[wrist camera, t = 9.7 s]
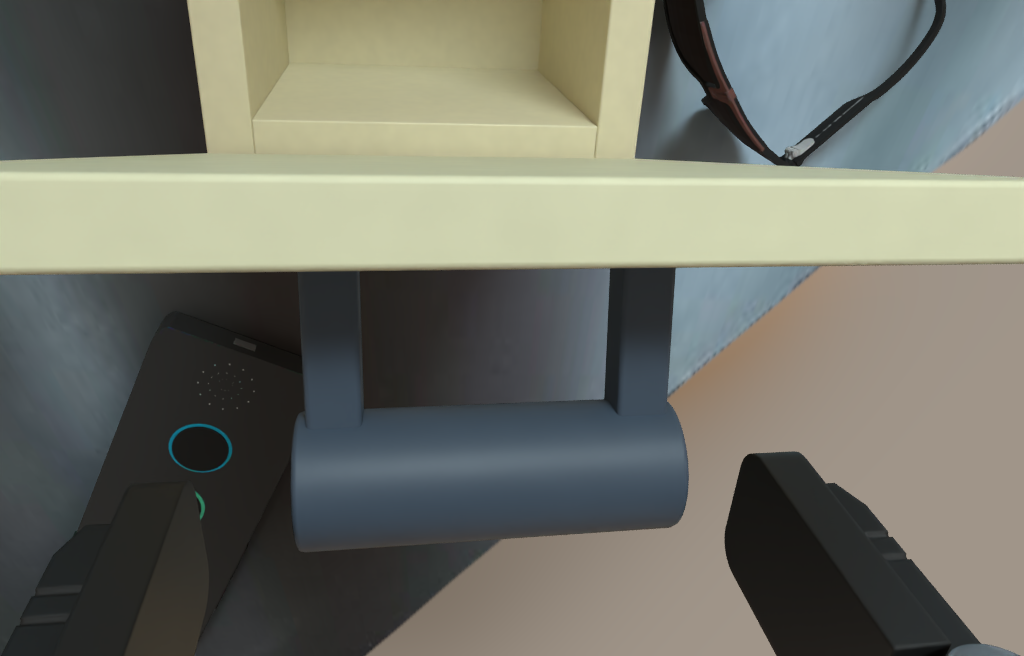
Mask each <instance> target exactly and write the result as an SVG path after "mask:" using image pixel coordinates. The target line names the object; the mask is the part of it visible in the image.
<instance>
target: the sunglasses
mask: <svg viewBox="0 0 1024 656" xmlns="http://www.w3.org/2000/svg"><path fill="white" fill-rule="evenodd" d="M934 1H935V5H936V14H935V18H934V21H933V24H932V26H931V28H930V30H929V31H928V33H927V34H926V36H925V38H924V39H923V40H922V42H921V43H920V44H919V46H918V47H917V48H916V50H915V51H914V52H913V53H912V55H911V56H910V57H909V58H908V59H907V60H906V61H905V63H904V64H903V65H902V66H901V67H900V68H899V69H898V70H897V71H896V72H895V73H894V74H893V75H891V76H890V77H889V78H888V79H887V80H886V81H885V82H883V83H882V84H881V85H880V86H879V87H877V88H876V89H875V90H873V91H871V92H870V93H868V94H866V95H863V96H861V97H858V98H856V99H853V100H851V101H849V102H847V103H845V104H844V105H842V106H841V107H840V108H839V109H838V110H836V111H835V112H834V113H833V114H832V115H831V116H829V117H828V118H827V119H826V120H825V121H823V122H822V123H821V124H820V125H819V126H817V127H816V128H815V129H814V130H813V131H812V132H810V133H809V134H808V135H807V136H806V137H804V138H803V139H802V140H801V141H800V142H799V143H797V144H796V145H795V146H791V147H787V148H786V149H785V154H784V155H783V156H782V157H778V156H777V155H776V154H775V153H774V152H773V151H771V150H770V149H769V148H768V147H767V145H766V144H765V143H764V141H763V140H762V139H761V138H760V136H759V135H758V134H757V132H756V131H755V130H754V128H753V127H752V125H751V124H750V122H749V121H748V119H747V117H746V115H745V114H744V112H743V110H742V108H741V106H740V104H739V102H738V99H737V97H736V95H735V92H734V90H733V88H732V87H731V85H730V83H729V81H728V79H727V76H726V74H725V72H724V70H723V67H722V65H721V62H720V60H719V57H718V55H717V51H716V48H715V45H714V41H713V38H712V34H711V30H710V27H709V23H708V20H707V18H706V14H705V8H704V1H703V0H663V3H664V10H665V15H666V20H667V25H668V29H669V32H670V35H671V39H672V42H673V44H674V47H675V49H676V51H677V53H678V55H679V57H680V59H681V61H682V62H683V64H684V65H685V67H686V68H687V69H688V71H689V72H690V73H691V74H692V75H693V76H694V77H695V78H696V79H697V80H698V81H699V82H700V84H701V85H702V87H703V89H704V91H705V93H706V96H705V97H704V98H703V99H702V100H701V101H702V103H703V104H704V105H706V106H707V107H708V108H709V110H710V111H711V112H712V113H713V114H714V115H715V116H716V117H717V118H718V119H719V120H720V121H721V123H722V124H723V125H724V126H725V127H727V128H728V129H729V130H730V131H731V132H732V133H733V134H734V135H735V136H736V137H737V138H738V139H739V140H740V141H742V142H743V143H744V144H745V145H747V146H748V147H750V148H751V149H753V150H754V151H756V152H757V153H759V154H760V155H762V156H763V157H765V158H766V159H768V160H770V161H771V162H773V163H774V164H775V165H777V166H797V167H799V166H800V165H802V163H803V161H804V159H805V158H806V157H807V156H809V155H810V154H811V153H812V152H813V151H815V150H816V149H817V148H818V147H819V146H820V145H822V144H823V143H824V142H825V141H826V140H828V139H829V138H830V137H831V136H832V135H833V134H835V133H836V132H837V131H838V130H839V129H841V128H842V127H843V126H844V125H845V124H846V123H848V122H849V121H850V120H851V119H852V118H854V117H855V116H856V115H857V114H858V113H859V112H861V111H862V110H863V109H864V108H865V107H867V106H868V105H869V104H870V103H871V102H872V101H874V100H876V99H878V98H879V97H881V96H882V95H883V94H885V93H886V92H887V91H888V90H889V89H890V88H892V87H893V86H894V85H895V84H896V83H897V82H899V81H900V80H901V79H902V78H903V77H904V76H905V75H906V74H907V73H908V72H909V71H910V69H911V68H912V67H913V66H914V65H915V64H916V63H917V62H918V60H919V59H920V58H921V57H922V55H923V54H924V53H925V52H926V50H927V49H928V47H929V46H930V45H931V43H932V42H933V40H934V39H935V37H936V36H937V34H938V32H939V30H940V28H941V27H942V24H943V22H944V18H945V15H946V1H945V0H934Z"/></svg>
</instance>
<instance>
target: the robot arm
mask: <svg viewBox="0 0 1024 656" xmlns="http://www.w3.org/2000/svg"><path fill="white" fill-rule="evenodd" d="M725 551H726V556H727V560H728V564H729V567H730V569H731V571H732V573H733V575H734V577H735V579H736V581H737V583H738V585H739V587H740V588H741V590H742V592H743V594H744V596H745V598H746V599H747V601H748V603H749V605H750V607H751V609H752V611H753V612H754V615H755V616H756V618H757V620H758V622H759V624H760V626H761V627H762V629H763V631H764V633H765V635H766V637H767V639H768V641H769V642H770V644H771V646H772V648H773V650H774V652H775V654H776V655H777V656H1020V655H1017V654H1015V653H1013V652H1011V651H1008V650H1005V649H1003V648H1000V647H996V646H992V645H987V644H981V643H980V642H979V641H978V640H977V638H976V637H975V636H974V635H973V634H972V633H971V631H970V630H969V629H968V628H967V626H966V625H965V624H964V623H963V622H962V620H961V619H960V618H959V617H958V615H956V613H955V612H954V611H953V609H952V608H951V607H950V606H949V605H948V603H947V602H946V601H945V600H944V599H943V597H942V596H941V595H940V594H939V593H938V591H937V590H936V589H935V588H934V587H933V585H932V584H931V583H930V582H929V581H928V579H927V578H926V577H925V576H924V575H923V573H922V572H921V571H920V570H919V568H918V567H917V566H916V565H915V564H914V562H913V561H912V560H911V559H910V560H909V559H907V558H906V553H905V552H904V551H903V549H902V548H901V547H900V545H899V544H898V543H897V542H896V541H895V539H894V538H893V537H889V536H888V531H887V530H886V529H885V527H884V526H883V525H882V524H881V523H880V521H879V520H878V519H877V518H876V517H875V515H874V514H873V513H872V512H871V511H870V509H869V508H868V507H867V506H866V505H865V504H864V503H862V502H861V501H859V500H858V499H857V498H855V497H854V496H852V495H851V494H849V493H848V492H846V491H845V490H844V489H842V488H841V487H839V486H838V485H837V484H835V483H828V484H826V483H825V482H824V481H823V479H822V478H821V477H820V476H819V474H818V473H817V472H816V471H815V469H814V468H813V467H812V465H811V464H810V463H809V462H808V460H807V459H806V458H805V457H804V456H803V455H802V454H801V453H799V452H776V453H755V454H748V455H747V456H746V457H745V458H744V459H743V462H742V464H741V468H740V472H739V476H738V480H737V484H736V488H735V493H734V496H733V500H732V505H731V508H730V513H729V517H728V521H727V525H726V529H725ZM35 590H36V593H35V596H32V597H31V599H30V601H29V603H28V605H27V607H26V609H25V610H24V612H23V614H22V616H21V618H20V619H21V622H20V626H16V628H15V630H14V632H13V634H12V635H11V637H10V639H9V641H8V643H7V645H6V647H5V649H4V651H3V653H2V655H1V656H194V654H195V650H196V646H197V642H198V638H199V635H200V631H201V627H202V623H203V619H204V615H205V611H206V606H207V600H208V590H209V568H208V560H207V554H206V548H205V543H204V537H203V532H202V526H201V521H200V515H199V510H198V504H197V498H196V493H195V489H194V486H193V484H192V483H191V481H175V482H155V483H135V484H131V485H129V486H128V488H127V489H126V491H125V493H124V495H123V497H122V500H121V502H120V504H119V506H118V508H117V511H116V513H115V515H114V517H113V519H112V522H111V524H98V525H85V526H84V527H83V528H82V529H81V530H80V531H79V532H78V533H77V534H76V535H74V536H73V537H72V538H71V539H70V540H69V541H68V542H67V543H66V544H65V545H64V546H63V547H62V548H61V549H59V550H58V551H57V552H56V553H55V554H54V555H53V557H52V559H51V560H50V562H49V564H48V566H47V568H46V570H45V572H44V574H43V576H42V578H41V580H40V582H39V584H38V585H37V587H36V589H35Z"/></svg>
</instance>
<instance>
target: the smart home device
mask: <svg viewBox="0 0 1024 656" xmlns="http://www.w3.org/2000/svg"><path fill="white" fill-rule="evenodd" d="M303 411H305V406H304V387H303V367H302V357H300V356H297V355H295V354H292V353H289V352H286V351H284V350H281V349H278V348H275V347H273V346H270V345H267V344H264V343H262V342H259V341H256V340H253V339H251V338H248V337H245V336H242V335H240V334H237V333H234V332H231V331H229V330H226V329H223V328H220V327H218V326H215V325H212V324H210V323H207V322H204V321H201V320H199V319H196V318H193V317H190V316H188V315H185V314H182V313H179V312H172V313H170V314H169V315H168V316H166V318H165V319H164V320H163V321H162V323H161V325H160V327H159V328H158V330H157V332H156V334H155V336H154V337H153V339H152V341H151V343H150V345H149V348H148V351H147V353H146V356H145V358H144V361H143V363H142V366H141V369H140V371H139V374H138V376H137V379H136V381H135V384H134V387H133V389H132V392H131V394H130V397H129V399H128V402H127V405H126V407H125V410H124V412H123V415H122V417H121V420H120V423H119V425H118V428H117V430H116V433H115V436H114V438H113V441H112V443H111V446H110V448H109V451H108V454H107V456H106V459H105V461H104V464H103V466H102V469H101V472H100V474H99V477H98V479H97V482H96V484H95V487H94V490H93V492H92V495H91V497H90V500H89V502H88V505H87V508H86V510H85V513H84V515H83V518H82V520H81V523H80V526H79V528H78V531H75V533H74V535H76V534H77V533H78V532H79V531H80V530H81V529H82V528H83V527H84V526H85V525H98V524H111V522H112V519H113V517H114V515H115V513H116V511H117V508H118V506H119V504H120V502H121V500H122V497H123V495H124V493H125V491H126V489H127V488H128V486H129V485H131V484H135V483H155V482H175V481H191V483H192V484H193V486H194V489H195V493H196V498H197V504H198V510H199V515H200V521H201V526H202V532H203V537H204V543H205V548H206V554H207V560H208V568H209V590H208V600H207V606H206V611H205V615H204V619H203V623H202V627H201V631H200V635H199V638H198V641H199V639H200V637H201V635H202V633H203V631H204V629H205V627H206V625H207V623H208V621H209V619H210V617H211V615H212V613H213V611H214V609H216V608H217V606H218V604H219V602H220V600H221V598H222V596H223V594H224V592H225V590H226V588H227V586H228V584H229V582H230V580H231V577H232V576H233V574H234V572H235V570H236V568H237V566H238V564H239V562H240V560H241V558H242V556H243V554H244V552H245V550H246V548H247V546H248V542H249V540H250V538H251V536H252V534H253V532H254V530H255V528H256V526H257V524H258V522H259V520H260V518H261V516H262V514H263V512H264V510H265V508H266V506H267V504H268V502H269V500H270V498H271V496H272V494H273V492H274V490H275V488H276V486H277V484H278V482H279V480H280V478H281V476H282V474H283V472H284V470H285V468H286V466H287V464H288V462H289V460H290V458H291V450H292V439H293V431H294V426H295V422H296V419H297V416H298V414H299V413H301V412H303ZM74 535H73V536H74ZM197 643H198V642H197Z"/></svg>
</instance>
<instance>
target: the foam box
mask: <svg viewBox="0 0 1024 656" xmlns="http://www.w3.org/2000/svg"><path fill="white" fill-rule="evenodd" d="M187 5H188V12H189V20H190V27H191V34H192V42H193V49H194V57H195V64H196V72H197V79H198V86H199V94H200V101H201V109H202V116H203V124H204V131H205V138H206V146H207V153H222V154H300V155H378V156H457V157H535V158H613V159H635V151H636V143H637V136H638V128H639V120H640V113H641V105H642V97H643V90H644V82H645V74H646V67H647V59H648V51H649V44H650V36H651V28H652V21H653V13H654V5H655V0H187Z"/></svg>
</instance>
